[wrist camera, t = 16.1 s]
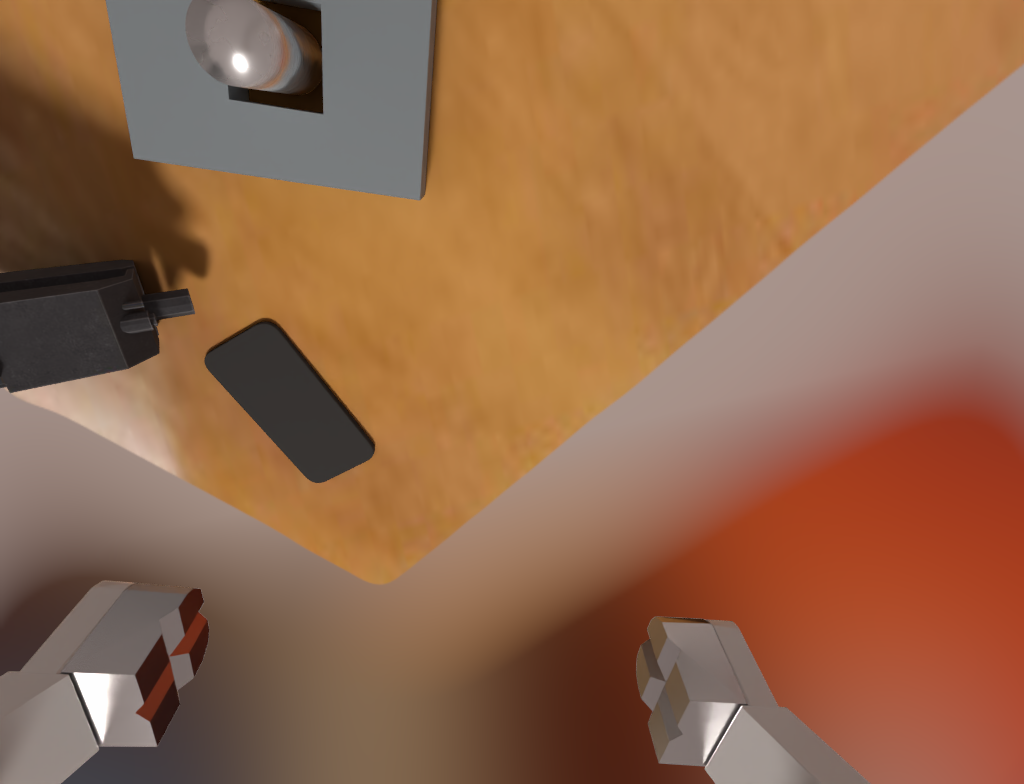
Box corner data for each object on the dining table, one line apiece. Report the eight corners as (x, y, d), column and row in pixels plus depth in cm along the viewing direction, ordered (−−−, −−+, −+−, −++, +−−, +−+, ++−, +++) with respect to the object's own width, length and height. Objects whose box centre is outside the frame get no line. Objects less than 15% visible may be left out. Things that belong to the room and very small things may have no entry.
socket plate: (440, -53, 30) (435, -70, 28) (424, 194, 37) (419, 200, 34) (118, -117, 29) (80, -141, 26) (160, 155, 35) (133, 158, 32)
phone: (268, 317, 40) (379, 454, 47) (272, 313, 41) (381, 449, 47) (197, 359, 42) (314, 487, 48) (202, 355, 42) (316, 481, 49)
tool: (-152, 268, 35) (-296, 336, 24) (173, 236, 44) (181, 274, 33) (-102, 350, 38) (-208, 446, 26) (194, 304, 47) (209, 361, 35)
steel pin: (323, 27, 32) (268, -5, 24) (324, 99, 34) (274, 92, 26) (257, 15, 32) (179, -21, 24) (262, 89, 33) (191, 79, 26)
